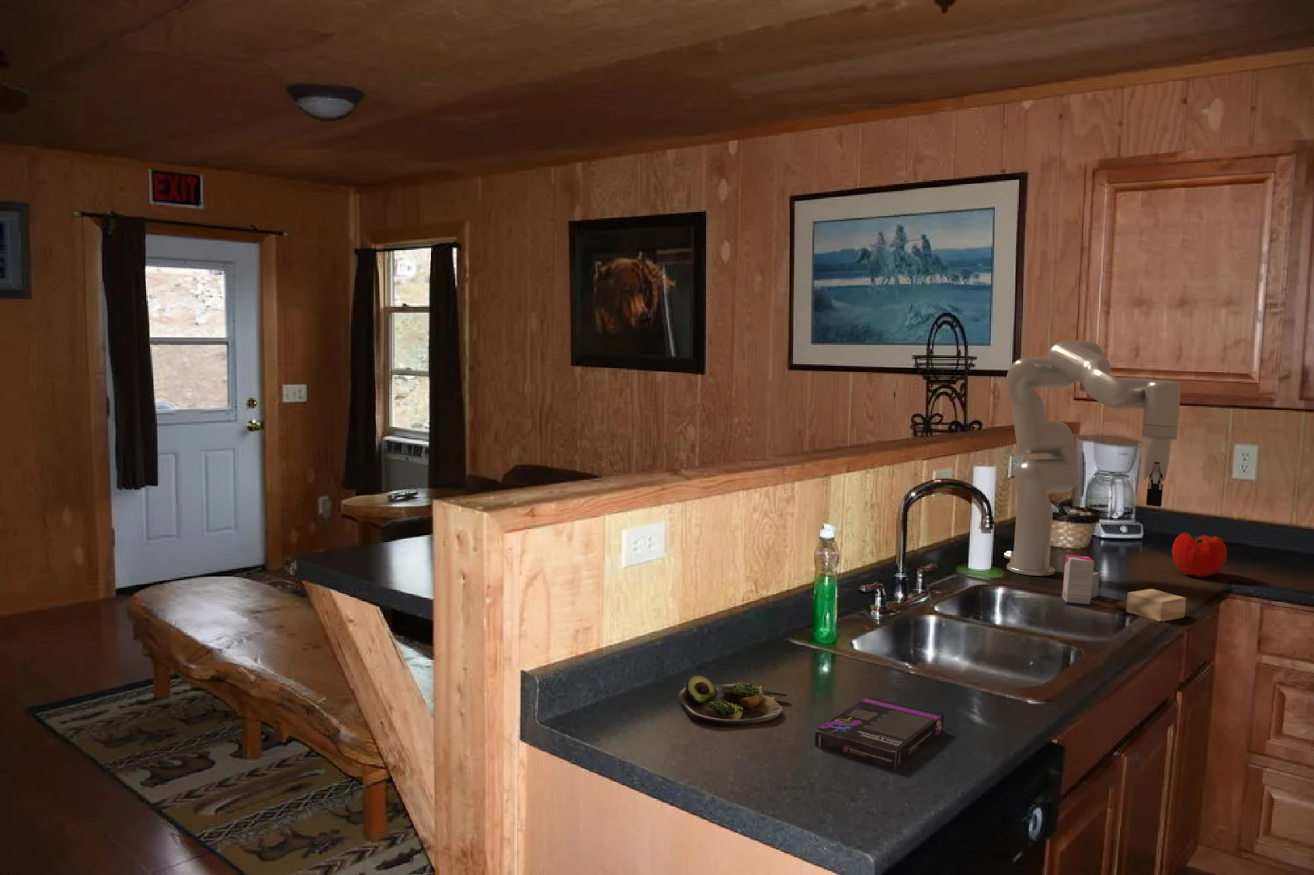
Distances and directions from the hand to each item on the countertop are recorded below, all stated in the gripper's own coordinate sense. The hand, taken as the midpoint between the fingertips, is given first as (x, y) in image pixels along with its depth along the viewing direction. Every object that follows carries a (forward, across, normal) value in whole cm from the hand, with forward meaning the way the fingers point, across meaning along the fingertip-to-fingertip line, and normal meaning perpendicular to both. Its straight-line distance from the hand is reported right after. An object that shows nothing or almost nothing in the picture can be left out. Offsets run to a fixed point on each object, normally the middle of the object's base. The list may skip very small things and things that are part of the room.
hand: (1153, 502), depth 241 cm
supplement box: (+27, +2, -16) cm, 31 cm away
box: (+27, +110, -36) cm, 119 cm away
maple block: (+27, +3, +2) cm, 27 cm away
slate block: (+26, -7, -14) cm, 31 cm away
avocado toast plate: (+27, +111, -63) cm, 131 cm away
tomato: (+27, -49, +12) cm, 57 cm away
